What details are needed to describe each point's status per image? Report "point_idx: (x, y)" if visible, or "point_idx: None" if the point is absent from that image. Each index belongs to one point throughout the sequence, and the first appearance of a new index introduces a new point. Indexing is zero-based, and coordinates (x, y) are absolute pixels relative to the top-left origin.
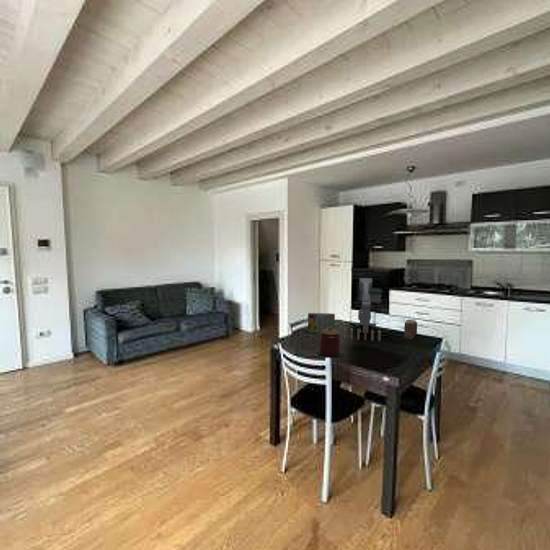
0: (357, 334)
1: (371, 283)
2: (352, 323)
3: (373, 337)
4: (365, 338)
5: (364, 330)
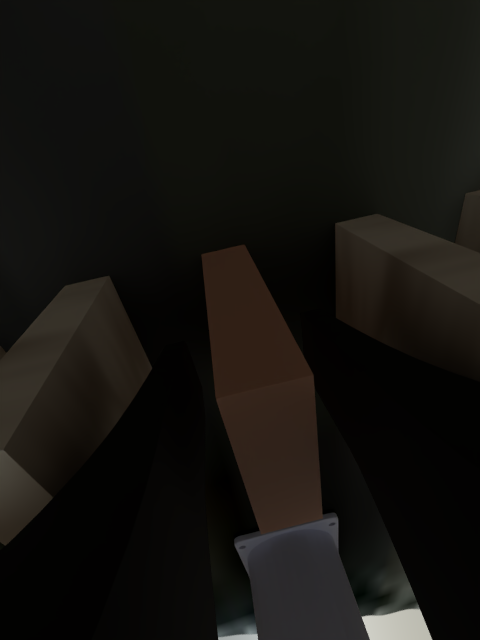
0: (460, 247)
1: None
2: (372, 607)
3: (35, 321)
4: (225, 263)
5: (316, 423)
